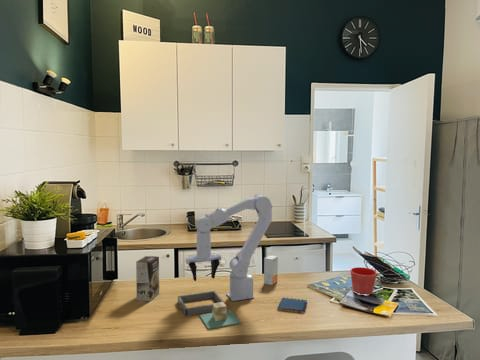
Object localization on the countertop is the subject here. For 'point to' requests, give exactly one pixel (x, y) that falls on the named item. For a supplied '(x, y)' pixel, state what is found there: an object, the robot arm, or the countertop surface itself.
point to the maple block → (219, 311)
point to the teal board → (214, 324)
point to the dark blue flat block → (292, 305)
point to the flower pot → (363, 280)
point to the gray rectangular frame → (197, 297)
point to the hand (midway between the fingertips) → (204, 279)
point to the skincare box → (270, 269)
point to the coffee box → (147, 278)
